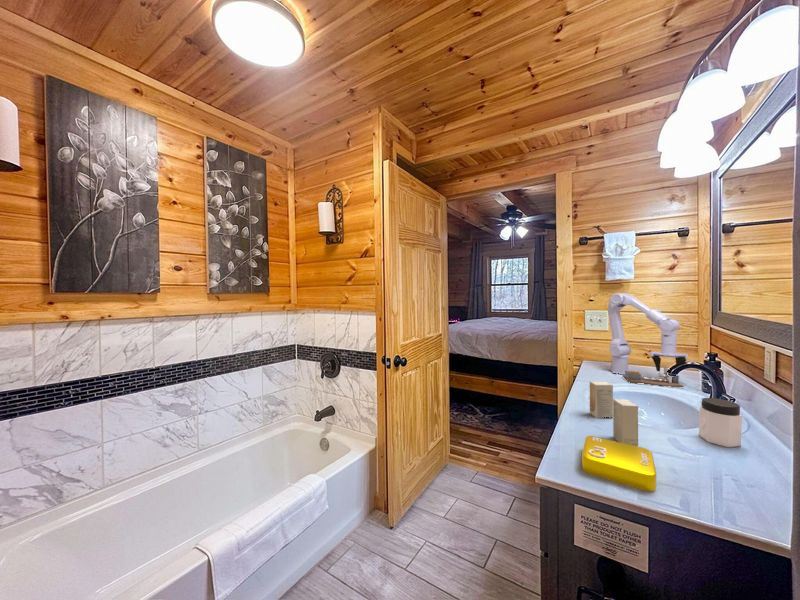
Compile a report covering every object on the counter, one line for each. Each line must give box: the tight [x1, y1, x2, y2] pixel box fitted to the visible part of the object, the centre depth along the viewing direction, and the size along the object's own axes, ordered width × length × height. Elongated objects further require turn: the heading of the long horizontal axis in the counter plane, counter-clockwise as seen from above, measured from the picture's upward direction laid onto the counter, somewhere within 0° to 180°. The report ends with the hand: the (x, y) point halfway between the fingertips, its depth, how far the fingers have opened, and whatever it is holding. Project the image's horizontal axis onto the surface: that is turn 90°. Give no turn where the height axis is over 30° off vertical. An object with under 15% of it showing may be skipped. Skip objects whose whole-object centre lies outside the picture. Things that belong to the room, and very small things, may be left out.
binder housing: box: [624, 370, 642, 381], centre depth 157 cm, size 5×5×4 cm
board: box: [621, 374, 685, 388], centre depth 154 cm, size 12×21×1 cm, turn 68°
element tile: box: [581, 435, 657, 492], centre depth 81 cm, size 15×15×5 cm
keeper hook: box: [658, 372, 680, 384], centre depth 152 cm, size 4×7×4 cm, turn 68°
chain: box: [642, 367, 672, 383], centre depth 153 cm, size 6×10×6 cm, turn 68°
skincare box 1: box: [589, 381, 614, 419], centre depth 113 cm, size 6×4×12 cm
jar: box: [698, 397, 743, 448], centre depth 95 cm, size 9×8×12 cm
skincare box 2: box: [612, 398, 639, 447], centre depth 94 cm, size 6×4×12 cm
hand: (667, 371), depth 151 cm, fingers open, 7 cm apart
